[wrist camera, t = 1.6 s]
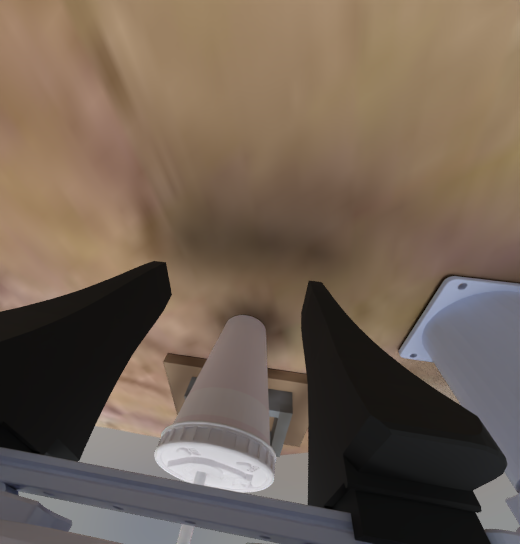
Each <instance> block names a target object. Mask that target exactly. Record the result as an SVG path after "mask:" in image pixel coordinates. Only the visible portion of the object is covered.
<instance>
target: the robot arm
mask: <svg viewBox="0 0 520 544" xmlns="http://www.w3.org/2000/svg"><path fill="white" fill-rule="evenodd" d="M462 283H463V284H462ZM460 284H462V285H460ZM459 285H460V286H459ZM171 295H172V293H171V288H170V282H169V277H168V271H167V266H166V262H158V261H153V262H150V263H147V264H144V265H142V266H139V267H137V268H134V269H132V270H130V271H127V272H125V273H123V274H120V275H118V276H116V277H113V278H111V279H108V280H106V281H103V282H100V283H98V284H95V285H93V286H90V287H87V288H85V289H82V290H79V291H76V292H73V293H70V294H67V295H64V296H60V297H57V298H54V299H50V300H46V301H43V302H39V303H35V304H31V305H27V306H23V307H20V308H15V309H11V310H6V311H2V312H0V544H121V543H117V542H113V541H108V540H104V539H99V538H95V537H91V536H85V535H81V534H76V533H72V532H68V531H69V529H70V528H71V526H72V521H71V520H69V519H67V518H64V517H62V516H60V515H58V514H56V513H54V512H52V511H50V510H48V509H47V508H45V507H44V506H43V505H41V504H40V503H39V502H37V501H34V500H31V499H28V498H24V497H21V496H19V495H18V491H21V492H25V493H30V494H35V495H40V496H45V497H50V498H55V499H60V500H65V501H70V502H75V503H80V504H86V505H91V506H95V507H100V508H105V509H110V510H115V511H120V512H125V513H130V514H135V515H140V516H145V517H150V518H155V519H160V520H165V521H170V522H175V523H180V524H185V525H190V526H195V527H200V528H205V529H210V530H215V531H219V532H225V533H229V534H234V535H239V536H244V537H250V538H255V539H259V540H264V541H270V542H274V543H279V544H520V527H519V528H518V529H517V530H516V532H512V531H506V530H499V529H485V530H484V529H483V527H482V525H481V523H480V521H479V519H478V517H477V515H476V513H475V512H477V513H478V512H481V506H480V504H479V502H478V500H477V498H476V496H475V494H474V492H473V490H474V489H476V488H478V487H480V486H482V485H484V484H486V483H488V482H490V481H492V480H494V479H496V478H497V477H499V476H500V475H502V474H503V473H504V472H505V474H506V475H507V477H508V479H509V480H510V482H511V483H512V485H513V486H514V488H515V489H516V491H517V492H518V493H519V494H517V495H516V496H514V497H511V498H508V499H506V500H505V501H506V503H507V504H508V506H509V508H510V509H511V511H512V513H513V515H514V516H515V518H516V520H517V521H518V523H519V525H520V284H518V283H509V282H501V281H493V280H484V279H476V278H467V277H459V276H451V277H448V278H446V279H445V280H444V281H443V282H442V284H441V286H440V287H439V289H438V290H437V292H436V293H435V295H434V296H433V298H432V300H431V301H430V303H429V304H428V306H427V307H426V309H425V311H424V312H423V314H422V315H421V317H420V318H419V320H418V322H417V323H416V325H415V326H414V328H413V329H412V331H411V332H410V334H409V336H408V337H407V339H406V340H405V342H404V343H403V345H402V347H401V348H400V350H399V354H400V356H401V357H402V358H407V359H414V360H421V361H428V362H434V364H435V365H436V367H437V368H438V370H439V371H440V373H441V375H442V376H443V378H444V379H445V381H446V382H447V384H448V385H449V387H450V389H451V390H452V392H453V393H454V395H455V396H456V398H457V399H458V401H459V403H460V404H461V405H459V404H458V403H456V402H454V401H453V400H451V399H450V398H448V397H447V396H445V395H443V394H442V393H440V392H439V391H437V390H436V389H434V388H433V387H431V386H430V385H428V384H427V383H426V382H424V381H423V380H421V379H420V378H418V377H417V376H416V375H414V374H413V373H411V372H410V371H409V370H407V369H406V368H405V367H403V366H402V365H401V364H400V363H398V362H397V361H396V360H395V359H393V358H392V357H391V356H390V355H388V354H387V353H386V352H385V351H384V350H382V349H381V348H380V347H379V346H378V345H377V344H376V343H374V342H373V341H372V340H371V339H370V338H369V337H368V336H367V335H366V334H365V333H364V332H363V331H362V330H361V329H360V328H359V327H358V326H357V325H356V324H355V323H354V322H353V321H352V320H351V319H350V318H349V316H348V315H347V314H346V313H345V312H344V311H343V309H342V308H341V307H340V306H339V305H338V303H337V302H336V301H335V299H334V298H333V297H332V295H331V294H330V293H329V291H328V290H327V289H326V287H325V286H324V285H323V283H322V282H315V281H309V283H308V287H307V291H306V295H305V299H304V304H303V308H302V312H301V331H302V340H303V348H304V356H305V364H306V372H307V383H308V454H309V455H308V457H309V459H308V460H309V461H308V462H309V463H308V465H309V466H308V505H304V504H299V503H294V502H288V501H282V500H278V499H272V498H267V497H262V496H257V495H251V494H246V493H241V492H235V491H230V490H225V489H220V488H214V487H209V486H204V485H198V484H193V483H188V482H182V481H177V480H171V479H167V478H161V477H156V476H151V475H145V474H140V473H135V472H129V471H124V470H119V469H114V468H108V467H103V466H97V465H92V464H87V463H82V462H78V461H79V460H80V458H81V455H82V453H83V451H84V448H85V446H86V444H87V442H88V440H89V437H90V435H91V433H92V431H93V429H94V426H95V424H96V422H97V420H98V418H99V416H100V414H101V412H102V410H103V408H104V406H105V404H106V402H107V400H108V398H109V396H110V394H111V392H112V390H113V388H114V386H115V385H116V383H117V381H118V379H119V377H120V375H121V373H122V372H123V370H124V368H125V367H126V365H127V363H128V361H129V360H130V358H131V356H132V355H133V353H134V352H135V350H136V349H137V347H138V346H139V344H140V343H141V341H142V340H143V339H144V337H145V336H146V335H147V333H148V332H149V330H150V329H151V328H152V326H153V325H154V324H155V322H156V321H157V319H158V318H159V316H160V315H161V314H162V312H163V311H164V309H165V307H166V305H167V303H168V301H169V299H170V297H171ZM246 544H259V543H246Z"/></svg>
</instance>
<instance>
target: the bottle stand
mask: <svg viewBox="0 0 520 544" xmlns="http://www.w3.org/2000/svg"><path fill="white" fill-rule="evenodd" d="M206 360H207V359H201V358H194V357H188V356H181V355H174V354H167V356H166V358H165V360H164V361H163V363H164V367H165V371H166V374H167V378H168V382H169V385H170V389H171V393H172V397H173V400H174V404H175V408H176V411H177V415H178V413H179V411H180V409H181V407H182V406H183V404H184V402H185V400H186V398H187V396H188V394H189V393H190V391H191V389H192V387H193V385H194V383H195V381H196V379H197V377H198V376H199V374H200V372H201V370H202V368H203V366H204V364H205V362H206ZM267 372H268V400H269V425H270V446H271V447H272V448H273V450H274V452H275V454H276V457H279V456H280V453H281V450H282V447H283V444H285V445H291V446H297V447H300V445H301V443H302V440H303V438H304V435H305V433H306V430H307V428H308V383H307V374H301V373H294V372H287V371H281V370H274V369H267Z"/></svg>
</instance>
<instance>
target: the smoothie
mask: <svg viewBox="0 0 520 544" xmlns="http://www.w3.org/2000/svg"><path fill="white" fill-rule="evenodd" d="M154 456H155V460H156V462H157V463H158V465H159V466H160V467H161V468H162V469H164V470H165V471H166V472H168V473H169V474H171V475H173V476H175V477H177V478H179V479H181V480H183V481H186V482H189V483H193V484H198V485H204V486H209V487H214V488H220V489H225V490H230V491H235V492H241V493H243V492H255V491H260V490H263V489H266V488H267V487H269V486H270V485H271V484H272V483H273V481H274V468H275V463H276V454H275V452H274V450H273V448H272V447H271V446H270V425H269V400H268V372H267V343H266V329H265V326H264V325H263V323H262V322H261V321H259V320H258V319H256V318H254V317H252V316H248V315H237V316H234V317H232V318H230V319H229V320H228V321H227V323H226V325H225V326H224V328H223V330H222V332H221V334H220V336H219V338H218V340H217V342H216V343H215V345H214V347H213V349H212V351H211V353H210V355H209V357H208V359H207V360H206V362H205V364H204V366H203V368H202V370H201V372H200V374H199V376H198V377H197V379H196V381H195V383H194V385H193V387H192V389H191V391H190V393H189V394H188V396H187V398H186V400H185V402H184V404H183V406H182V407H181V409H180V411H179V413H178V415H177V417H176V419H175V421H174V423H173V424H172V425H170V426H168V427H166V428H165V429H164V431H163V432H162V434H161V439H160V441H159V444H158V446H157V448H156V451H155V453H154ZM193 529H194V526H190V525H185V524H182V525H181V529H180V533H179V536H178V540H177V543H176V544H190V541H191V537H192V533H193Z"/></svg>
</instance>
